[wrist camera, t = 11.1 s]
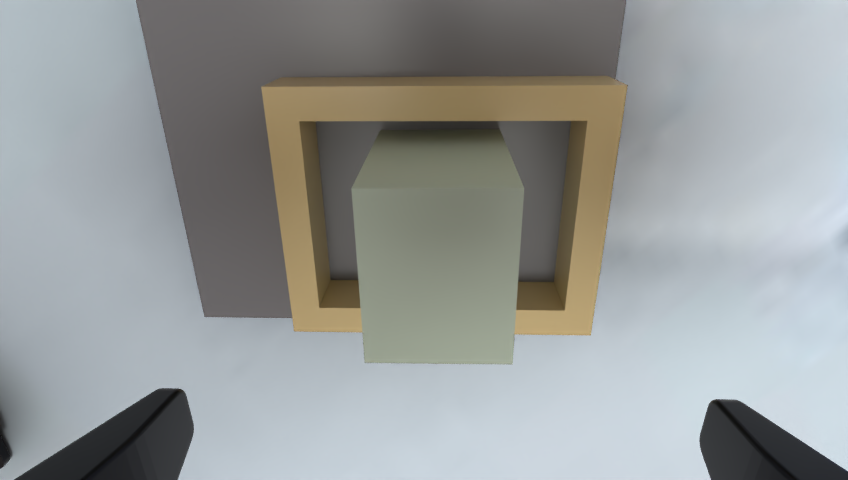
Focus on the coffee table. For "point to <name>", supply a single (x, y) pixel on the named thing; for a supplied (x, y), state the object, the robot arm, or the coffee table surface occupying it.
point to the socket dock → (359, 127)
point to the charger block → (438, 247)
